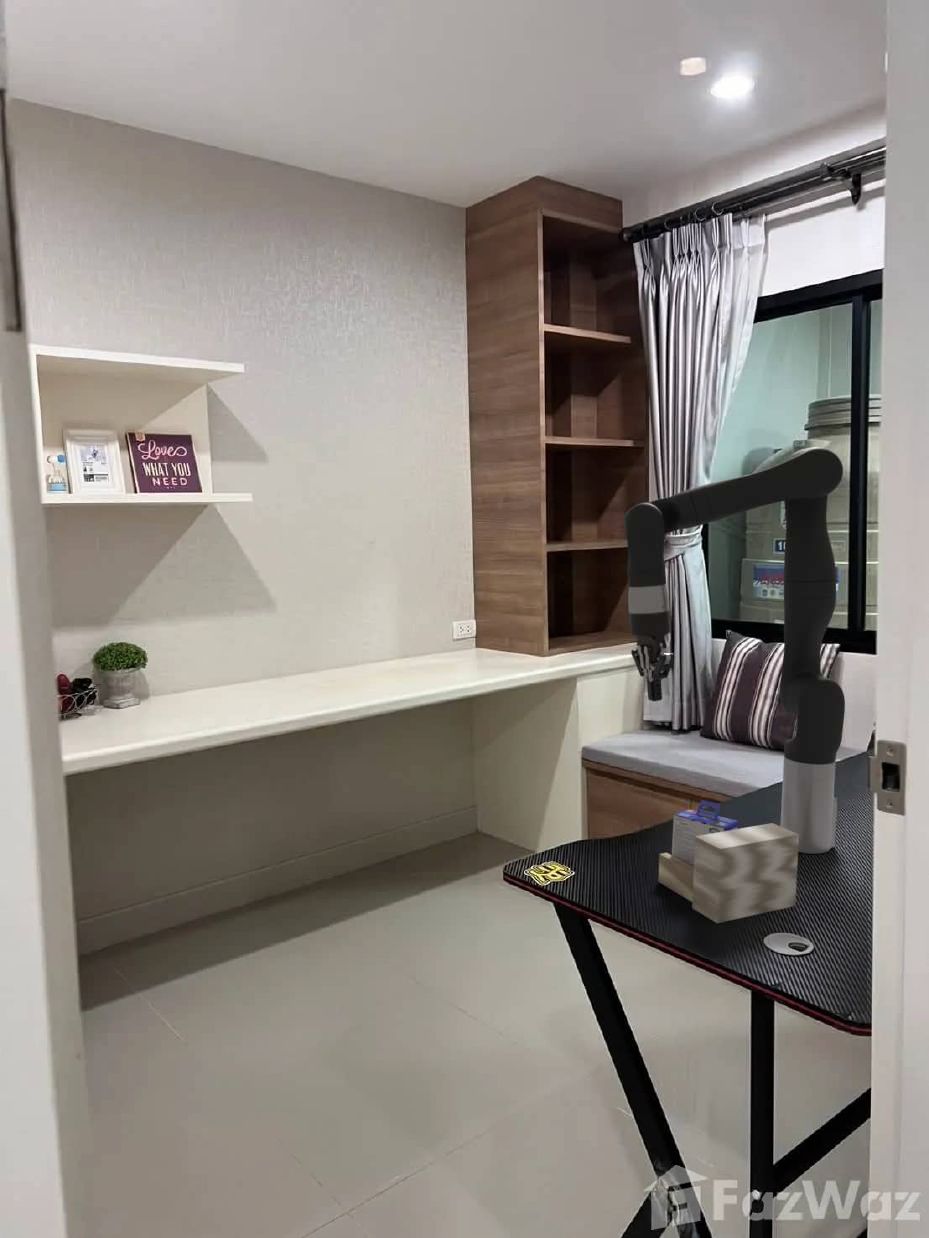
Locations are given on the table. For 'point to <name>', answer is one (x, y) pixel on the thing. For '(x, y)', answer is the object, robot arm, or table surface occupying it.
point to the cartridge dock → (737, 872)
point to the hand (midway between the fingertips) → (655, 700)
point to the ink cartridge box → (696, 829)
